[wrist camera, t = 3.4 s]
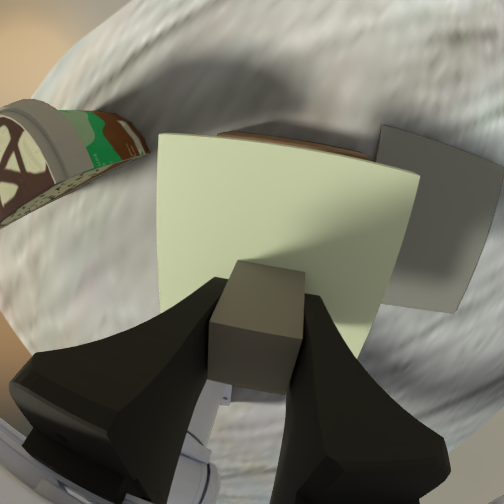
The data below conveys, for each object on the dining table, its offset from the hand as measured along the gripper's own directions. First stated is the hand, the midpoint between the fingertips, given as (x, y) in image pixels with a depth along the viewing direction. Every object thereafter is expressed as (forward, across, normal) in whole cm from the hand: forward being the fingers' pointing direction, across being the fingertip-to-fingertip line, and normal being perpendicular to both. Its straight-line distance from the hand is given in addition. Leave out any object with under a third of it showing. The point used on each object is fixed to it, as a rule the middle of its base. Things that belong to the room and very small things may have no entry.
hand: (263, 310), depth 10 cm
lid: (+2, 0, 0) cm, 2 cm away
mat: (+10, -10, -1) cm, 14 cm away
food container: (+10, +15, -4) cm, 19 cm away
